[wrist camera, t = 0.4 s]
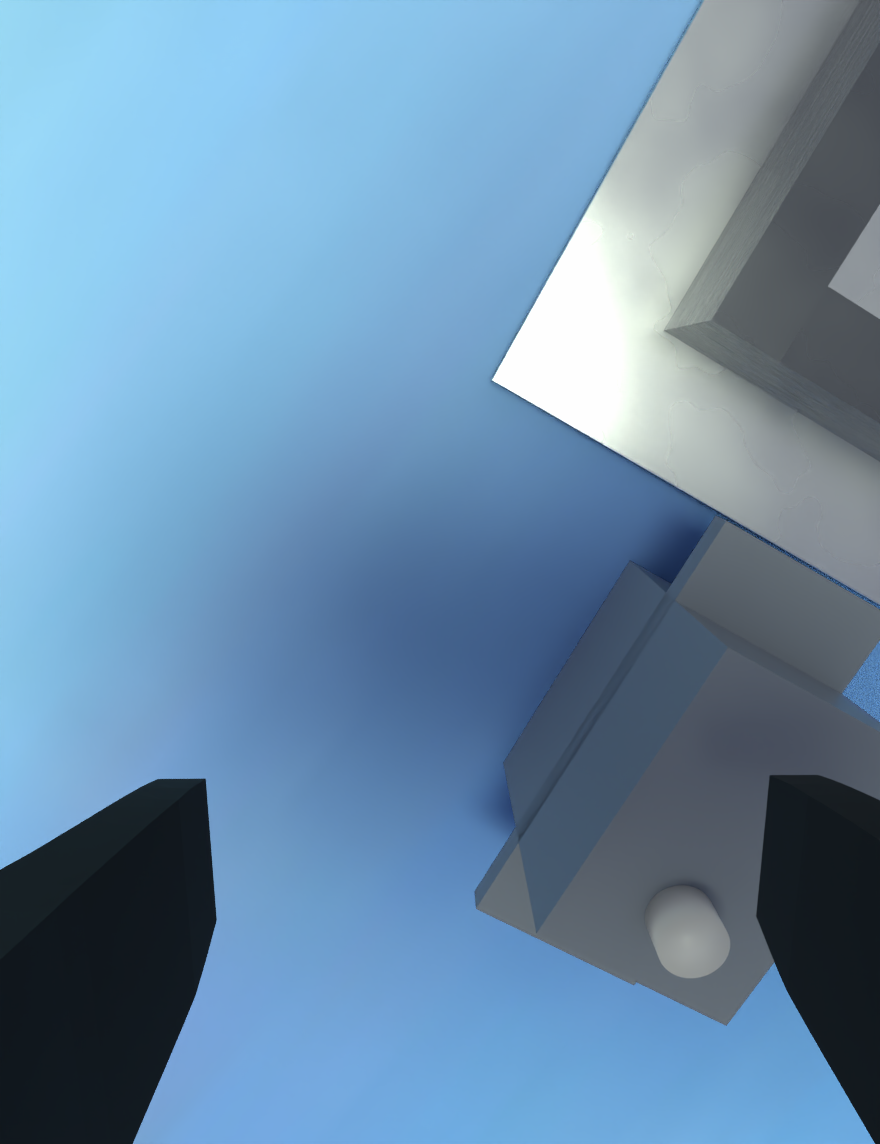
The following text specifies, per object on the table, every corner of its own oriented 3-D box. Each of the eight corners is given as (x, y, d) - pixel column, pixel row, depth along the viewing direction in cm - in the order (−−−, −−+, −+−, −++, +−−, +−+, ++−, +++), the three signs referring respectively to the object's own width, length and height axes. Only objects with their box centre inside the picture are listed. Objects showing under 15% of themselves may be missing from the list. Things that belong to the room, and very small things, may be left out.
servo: (809, 574, 19) (1030, 686, 12) (599, 884, 21) (685, 1137, 14) (670, 494, 19) (816, 562, 12) (467, 818, 21) (488, 1046, 14)
